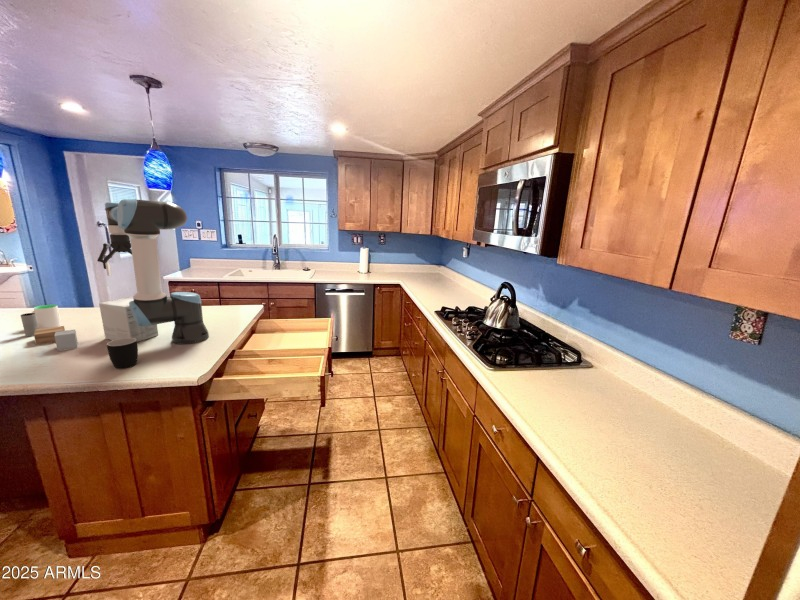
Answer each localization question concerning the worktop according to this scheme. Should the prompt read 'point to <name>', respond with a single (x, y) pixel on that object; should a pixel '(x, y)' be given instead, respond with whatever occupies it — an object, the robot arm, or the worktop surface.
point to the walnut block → (46, 334)
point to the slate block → (66, 340)
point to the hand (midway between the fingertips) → (126, 274)
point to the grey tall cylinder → (29, 323)
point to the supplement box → (123, 321)
